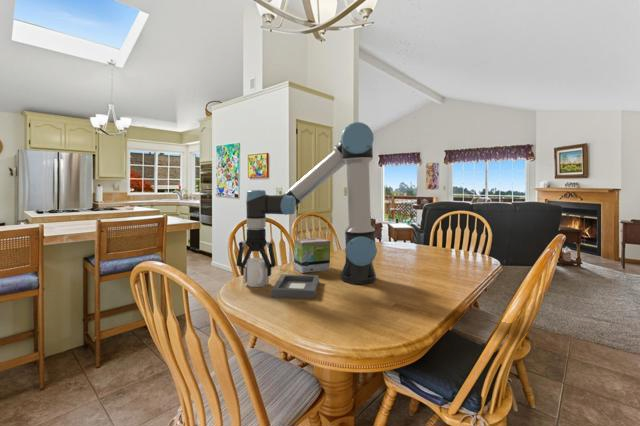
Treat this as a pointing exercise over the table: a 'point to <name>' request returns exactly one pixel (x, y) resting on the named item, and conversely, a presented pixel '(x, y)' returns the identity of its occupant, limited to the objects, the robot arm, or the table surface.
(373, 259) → the robot arm
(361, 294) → the table surface
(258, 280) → the mug
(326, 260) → the tea box
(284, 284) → the gray tray
